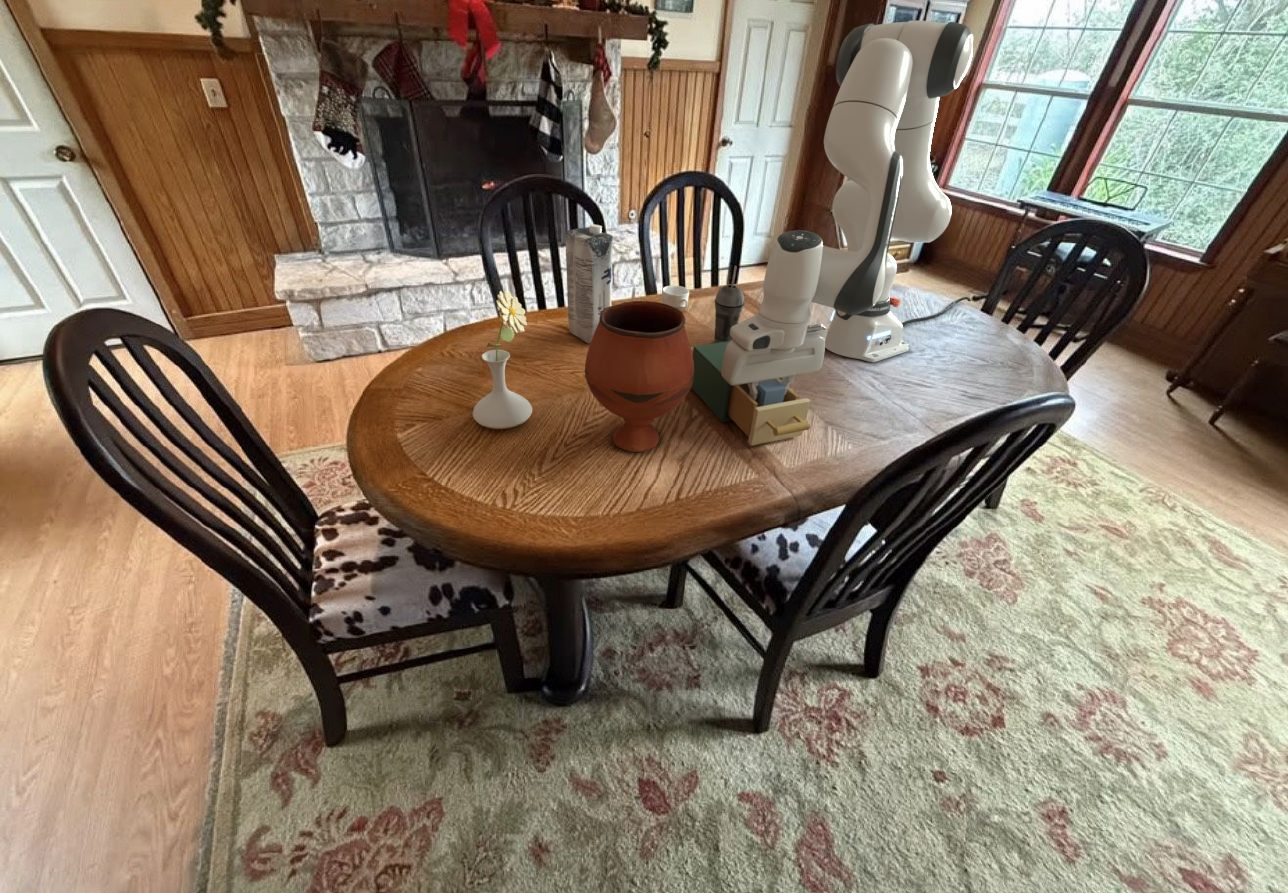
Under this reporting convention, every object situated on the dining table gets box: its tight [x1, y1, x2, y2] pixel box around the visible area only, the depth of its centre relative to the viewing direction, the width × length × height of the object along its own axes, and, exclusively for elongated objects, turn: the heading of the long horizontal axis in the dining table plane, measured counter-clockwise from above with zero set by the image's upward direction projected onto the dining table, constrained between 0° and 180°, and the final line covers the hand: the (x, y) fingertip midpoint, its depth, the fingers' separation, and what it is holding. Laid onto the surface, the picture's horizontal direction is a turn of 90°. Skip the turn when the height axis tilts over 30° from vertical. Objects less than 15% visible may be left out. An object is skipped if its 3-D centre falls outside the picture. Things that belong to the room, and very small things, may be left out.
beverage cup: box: [714, 265, 745, 343], centre depth 134 cm, size 7×7×20 cm
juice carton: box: [564, 224, 614, 345], centre depth 134 cm, size 9×10×27 cm
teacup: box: [661, 285, 690, 311], centre depth 157 cm, size 10×8×5 cm
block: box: [755, 379, 786, 407], centre depth 105 cm, size 4×4×4 cm
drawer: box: [727, 378, 811, 447], centre depth 107 cm, size 18×11×8 cm, turn 22°
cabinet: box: [691, 341, 783, 423], centre depth 116 cm, size 16×13×10 cm
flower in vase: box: [472, 290, 533, 430], centre depth 102 cm, size 13×11×25 cm
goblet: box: [584, 300, 694, 453], centre depth 98 cm, size 19×19×25 cm
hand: (766, 396), depth 105 cm, fingers closed on block, 4 cm apart
